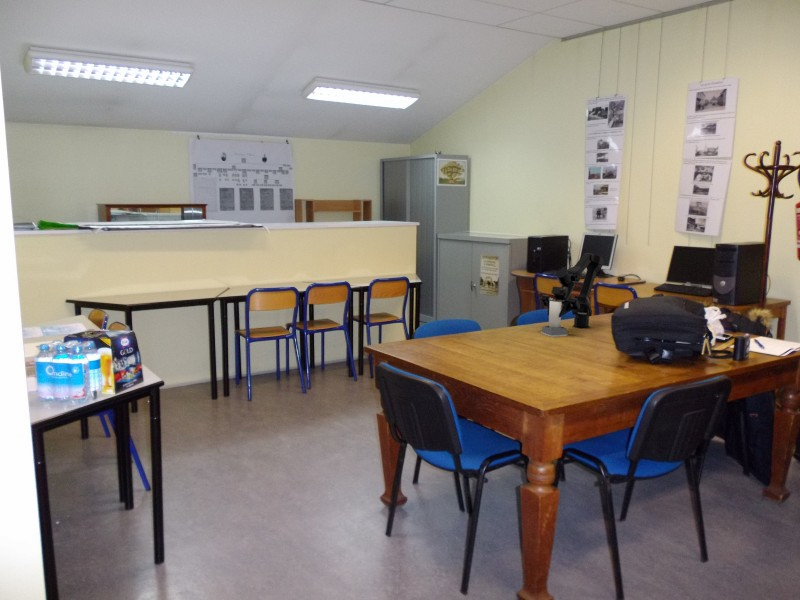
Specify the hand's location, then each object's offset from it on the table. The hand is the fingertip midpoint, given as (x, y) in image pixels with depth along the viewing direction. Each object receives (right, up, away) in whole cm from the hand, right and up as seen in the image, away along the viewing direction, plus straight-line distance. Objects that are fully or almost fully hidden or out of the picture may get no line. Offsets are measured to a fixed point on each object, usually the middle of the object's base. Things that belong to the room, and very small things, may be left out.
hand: (553, 316), depth 315 cm
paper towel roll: (+1, -7, +2) cm, 7 cm away
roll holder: (+1, -9, +2) cm, 9 cm away
